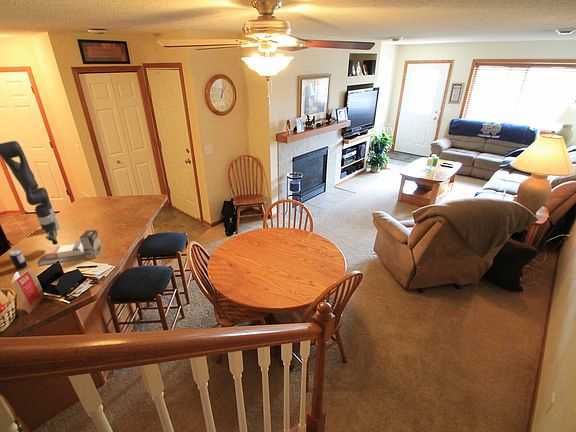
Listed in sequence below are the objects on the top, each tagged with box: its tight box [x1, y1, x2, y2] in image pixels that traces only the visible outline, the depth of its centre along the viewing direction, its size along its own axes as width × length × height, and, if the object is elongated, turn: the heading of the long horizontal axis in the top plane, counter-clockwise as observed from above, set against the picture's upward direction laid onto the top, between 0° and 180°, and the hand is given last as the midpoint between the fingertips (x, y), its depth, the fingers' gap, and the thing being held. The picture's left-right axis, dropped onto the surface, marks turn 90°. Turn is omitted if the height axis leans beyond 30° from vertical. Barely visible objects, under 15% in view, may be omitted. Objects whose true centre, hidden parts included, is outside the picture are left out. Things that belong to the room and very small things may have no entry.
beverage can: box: [8, 249, 28, 271], centre depth 183 cm, size 6×6×12 cm
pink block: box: [43, 245, 60, 259], centre depth 195 cm, size 8×6×4 cm
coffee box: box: [79, 229, 103, 259], centre depth 196 cm, size 9×6×16 cm
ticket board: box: [38, 240, 86, 267], centre depth 197 cm, size 18×24×6 cm
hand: (55, 243), depth 202 cm, fingers closed
